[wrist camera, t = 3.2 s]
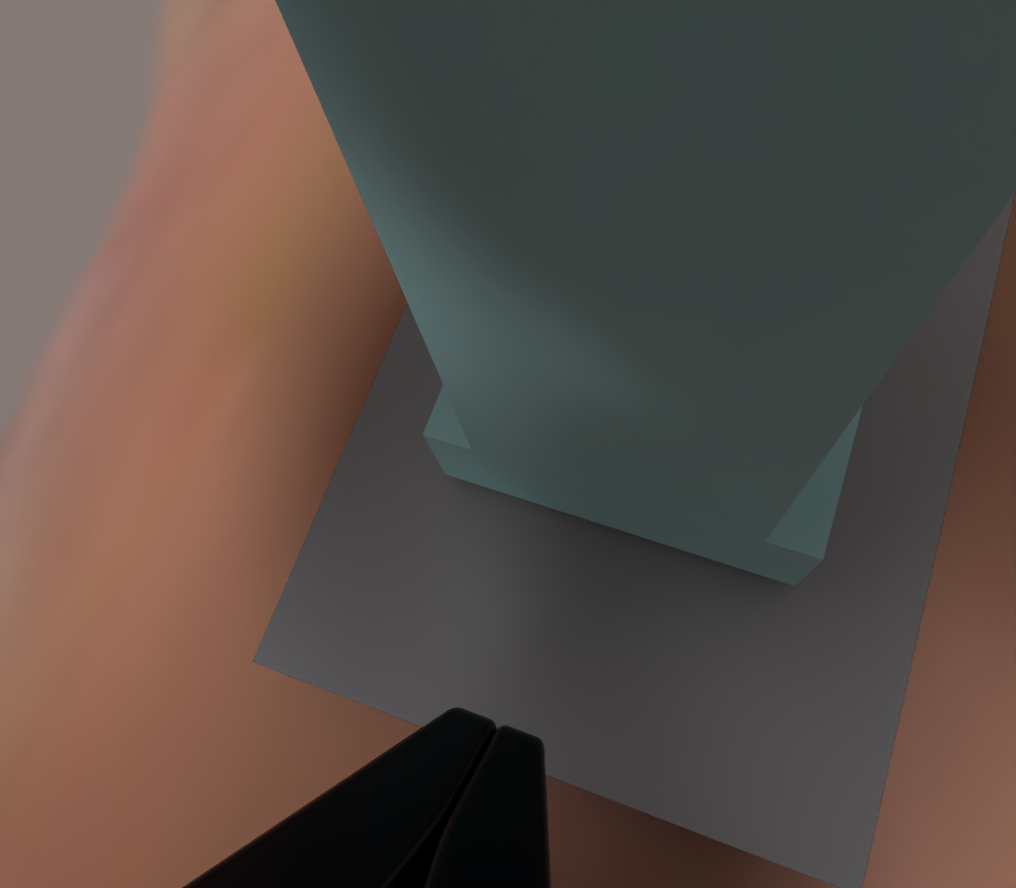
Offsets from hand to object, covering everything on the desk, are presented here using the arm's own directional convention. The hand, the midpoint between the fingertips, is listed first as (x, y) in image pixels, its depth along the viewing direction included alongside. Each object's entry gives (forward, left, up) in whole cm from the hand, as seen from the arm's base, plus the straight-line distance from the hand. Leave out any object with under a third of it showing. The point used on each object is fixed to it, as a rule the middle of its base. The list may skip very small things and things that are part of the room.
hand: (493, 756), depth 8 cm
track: (+11, 0, -8) cm, 14 cm away
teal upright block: (+8, 0, -6) cm, 10 cm away
